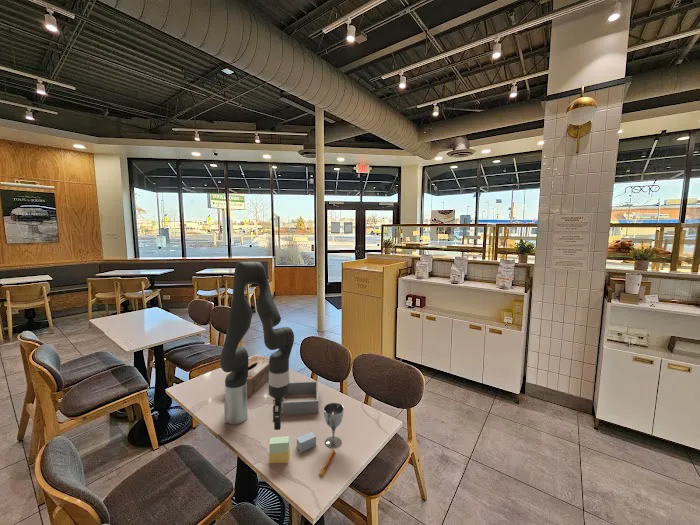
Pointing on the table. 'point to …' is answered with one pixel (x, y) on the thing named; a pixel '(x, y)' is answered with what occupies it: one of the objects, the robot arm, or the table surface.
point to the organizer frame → (302, 406)
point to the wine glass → (333, 423)
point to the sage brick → (279, 445)
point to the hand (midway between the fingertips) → (278, 421)
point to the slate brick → (306, 441)
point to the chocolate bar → (327, 463)
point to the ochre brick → (279, 457)
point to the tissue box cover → (257, 374)
